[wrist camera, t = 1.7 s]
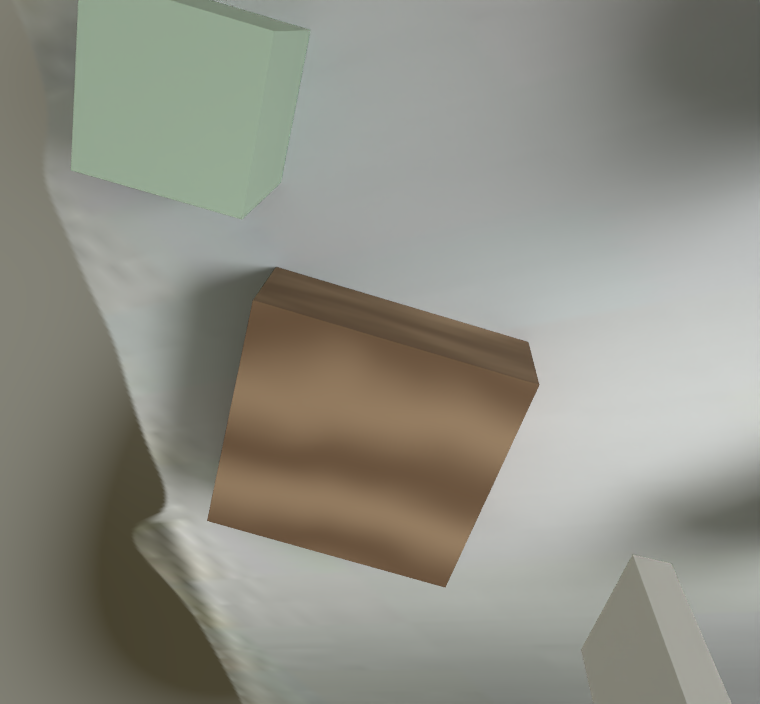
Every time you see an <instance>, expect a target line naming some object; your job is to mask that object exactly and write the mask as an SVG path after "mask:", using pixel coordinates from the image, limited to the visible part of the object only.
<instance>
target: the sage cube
mask: <svg viewBox="0 0 760 704" xmlns="http://www.w3.org/2000/svg"><path fill="white" fill-rule="evenodd" d="M309 36H310V30H308V29H305V28H302V27H298V26H295V25H292V24H288V23H285V22H282V21H278V20H275V19H272V18H268V17H265V16H262V15H258V14H255V13H252V12H248V11H245V10H241V9H238V8H235V7H231V6H228V5H225V4H221V3H218V2H215V1H211V0H78V17H77V40H76V63H75V86H74V109H73V132H72V155H71V170H72V171H75V172H78V173H82V174H85V175H89V176H92V177H96V178H99V179H103V180H106V181H110V182H113V183H117V184H120V185H124V186H127V187H131V188H134V189H138V190H141V191H145V192H148V193H152V194H155V195H159V196H162V197H166V198H169V199H173V200H176V201H180V202H183V203H187V204H190V205H194V206H197V207H201V208H204V209H208V210H211V211H215V212H218V213H222V214H225V215H229V216H232V217H236V218H239V219H243V218H244V217H245V216H246V215H247V214H248V213H249V212H250V211H251V210H253V209H254V208H255V207H256V206H257V205H258V204H259V203H260V202H261V201H262V200H263V199H264V198H265V197H266V196H267V195H268V194H269V193H270V192H271V191H272V190H274V189H275V188H276V187H277V186H278V185H279V184H280V183H281V180H282V174H283V169H284V164H285V159H286V154H287V149H288V144H289V138H290V133H291V128H292V123H293V118H294V113H295V108H296V102H297V97H298V92H299V87H300V82H301V77H302V72H303V66H304V61H305V56H306V51H307V46H308V41H309Z"/></svg>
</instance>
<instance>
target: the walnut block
mask: <svg viewBox="0 0 760 704" xmlns="http://www.w3.org/2000/svg"><path fill="white" fill-rule="evenodd" d="M538 387H539V382H538V378H537V374H536V370H535V366H534V362H533V359H532V355H531V351H530V347H529V343H528V342H526V341H523V340H519V339H516V338H513V337H509V336H506V335H503V334H499V333H496V332H493V331H489V330H486V329H483V328H479V327H476V326H473V325H469V324H466V323H463V322H459V321H456V320H452V319H449V318H446V317H442V316H439V315H436V314H432V313H429V312H426V311H422V310H419V309H416V308H412V307H409V306H406V305H402V304H399V303H396V302H392V301H389V300H385V299H382V298H379V297H375V296H372V295H369V294H365V293H362V292H359V291H355V290H352V289H349V288H345V287H342V286H339V285H335V284H332V283H329V282H325V281H322V280H319V279H315V278H312V277H308V276H305V275H302V274H298V273H295V272H292V271H288V270H285V269H282V268H278V267H276V268H275V269H274V271H273V272H272V273H271V275H270V276H269V278H268V279H267V281H266V282H265V283H264V285H263V286H262V288H261V289H260V291H259V292H258V293H257V295H256V296H255V298H254V299H253V302H252V307H251V311H250V316H249V321H248V326H247V331H246V336H245V340H244V345H243V350H242V355H241V360H240V365H239V369H238V374H237V379H236V384H235V389H234V394H233V399H232V403H231V408H230V413H229V418H228V423H227V428H226V432H225V437H224V442H223V447H222V452H221V457H220V461H219V466H218V471H217V476H216V481H215V486H214V490H213V495H212V500H211V505H210V510H209V515H208V519H207V521H209V522H213V523H217V524H220V525H224V526H227V527H231V528H234V529H238V530H242V531H245V532H249V533H252V534H256V535H259V536H263V537H267V538H270V539H274V540H277V541H281V542H284V543H288V544H292V545H295V546H299V547H302V548H306V549H309V550H313V551H317V552H320V553H324V554H327V555H331V556H335V557H338V558H342V559H345V560H349V561H352V562H356V563H360V564H363V565H367V566H370V567H374V568H377V569H381V570H385V571H388V572H392V573H395V574H399V575H402V576H406V577H410V578H413V579H417V580H420V581H424V582H427V583H431V584H435V585H438V586H442V587H446V585H447V583H448V581H449V578H450V576H451V574H452V572H453V570H454V568H455V566H456V563H457V561H458V559H459V557H460V555H461V553H462V550H463V548H464V546H465V544H466V542H467V540H468V537H469V535H470V533H471V531H472V529H473V527H474V525H475V522H476V520H477V518H478V516H479V514H480V512H481V509H482V507H483V505H484V503H485V501H486V499H487V497H488V494H489V492H490V490H491V488H492V486H493V484H494V481H495V479H496V477H497V475H498V473H499V471H500V468H501V466H502V464H503V462H504V460H505V458H506V456H507V453H508V451H509V449H510V447H511V445H512V443H513V440H514V438H515V436H516V434H517V432H518V430H519V428H520V425H521V423H522V421H523V419H524V417H525V415H526V412H527V410H528V408H529V406H530V404H531V402H532V400H533V397H534V395H535V393H536V391H537V389H538Z"/></svg>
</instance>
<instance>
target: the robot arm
mask: <svg viewBox="0 0 760 704" xmlns="http://www.w3.org/2000/svg"><path fill="white" fill-rule="evenodd" d="M581 651H582V655H583V660H584V664H585V669H586V673H587V678H588V682H589V687H590V691H591V696H592V700H593V704H731V701H730V699H729V697H728V694H727V692H726V690H725V687H724V685H723V683H722V680H721V678H720V676H719V673H718V671H717V669H716V666H715V664H714V662H713V659H712V657H711V655H710V652H709V650H708V648H707V645H706V643H705V641H704V638H703V636H702V634H701V631H700V629H699V627H698V624H697V622H696V620H695V617H694V615H693V613H692V610H691V608H690V606H689V603H688V601H687V599H686V596H685V594H684V592H683V590H682V587H681V585H680V583H679V580H678V578H677V576H676V573H675V571H674V569H673V566H672V564H671V563H667V562H663V561H659V560H654V559H650V558H646V557H642V556H637V555H632V557H631V559H630V560H629V562H628V564H627V566H626V568H625V570H624V572H623V573H622V575H621V577H620V579H619V581H618V583H617V584H616V586H615V588H614V590H613V592H612V594H611V595H610V597H609V599H608V601H607V603H606V605H605V607H604V608H603V610H602V612H601V614H600V616H599V618H598V619H597V621H596V623H595V625H594V627H593V629H592V631H591V632H590V634H589V636H588V638H587V640H586V642H585V643H584V645H583V647H582V649H581Z"/></svg>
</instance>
